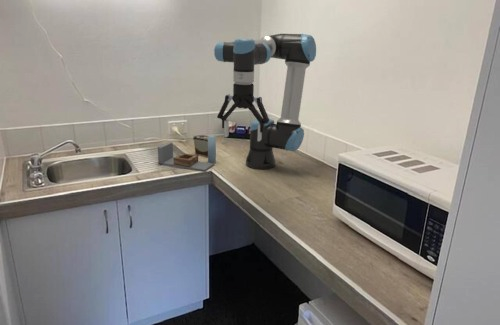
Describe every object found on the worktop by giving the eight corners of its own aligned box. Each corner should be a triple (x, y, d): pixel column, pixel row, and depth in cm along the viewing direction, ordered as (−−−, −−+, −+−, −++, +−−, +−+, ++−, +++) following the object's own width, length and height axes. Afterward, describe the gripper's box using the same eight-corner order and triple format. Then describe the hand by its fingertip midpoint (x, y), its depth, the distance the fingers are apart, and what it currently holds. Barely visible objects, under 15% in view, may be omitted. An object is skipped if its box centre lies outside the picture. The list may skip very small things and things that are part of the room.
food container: (217, 155, 207) (217, 137, 204) (211, 157, 202) (210, 139, 199) (200, 150, 213) (200, 133, 210) (193, 153, 208) (192, 136, 205)
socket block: (182, 158, 196) (182, 153, 195) (198, 160, 193) (198, 155, 192) (173, 163, 188) (173, 158, 187) (189, 166, 185) (189, 160, 184)
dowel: (210, 160, 198) (210, 134, 193) (217, 161, 197) (217, 135, 192) (206, 162, 194) (206, 136, 190) (213, 164, 193) (213, 137, 188)
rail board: (169, 158, 199) (168, 141, 196) (213, 165, 191) (213, 148, 188) (158, 164, 190) (157, 147, 187) (204, 171, 182) (204, 154, 179)
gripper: (208, 82, 139) (209, 137, 147) (273, 86, 132) (271, 144, 139) (216, 79, 146) (216, 132, 153) (278, 83, 139) (276, 139, 146)
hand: (242, 138), depth 146 cm, fingers open, 13 cm apart
